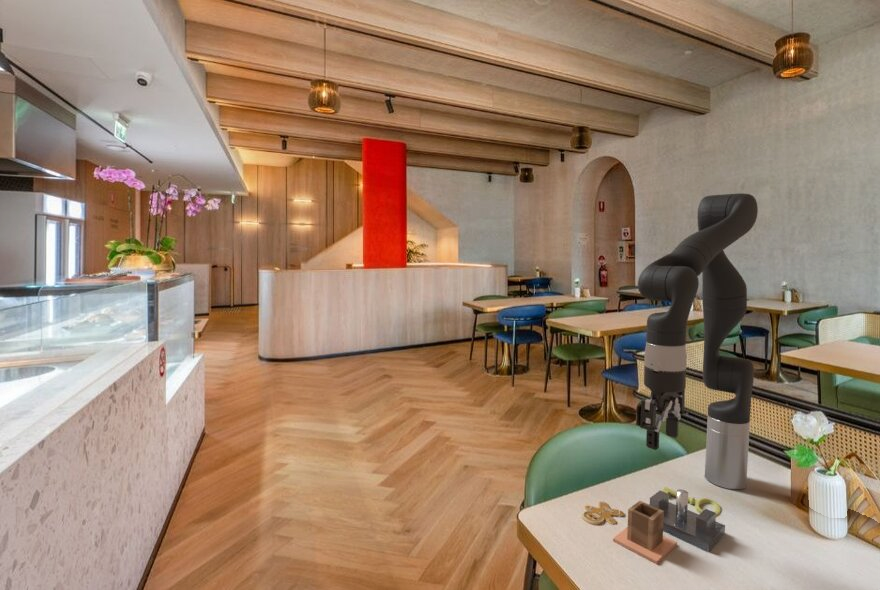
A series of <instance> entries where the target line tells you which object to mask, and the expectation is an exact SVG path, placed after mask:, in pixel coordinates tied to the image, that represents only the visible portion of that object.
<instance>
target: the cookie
mask: <svg viewBox="0 0 880 590" xmlns="http://www.w3.org/2000/svg"><path fill="white" fill-rule="evenodd" d="M597 505H598V507H595V506H591V505H585V506H584V510H585V511H584V512H582V515H581V519H582V520H583V521H584V522H585V523H588V524H590V525H593V526H602V525H603V524H605V520H606V522H607V523H608V524H610V525H612V524H613V526H615V525H614V524H616V525H617V524H618V521H617V520H616V519H615V518H614V517H618V516H620V517H619V518H622V516H624V517H625V516H626V514H625V512H624V511H623V510H620V509H615V508H614V509H613V508H611V506H610V505H609V504H608V503H607V502H605V501H598V503H597Z"/></svg>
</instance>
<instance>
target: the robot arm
mask: <svg viewBox="0 0 880 590" xmlns="http://www.w3.org/2000/svg"><path fill="white" fill-rule="evenodd" d="M758 208H759V207H758V202H757V199H756V197H754V196H753V195H752V194H749V193H739V192H738V193H730V194H729V193H727V194H726V193H725V194H712V195H706V196H704V197H703V198H702V199H701V200H700V201H699V205H698V208H697V217H696V218H697V230H698V231H696V232H694V233H692V234H690V235H689V236H687V237H685V238H683V240H682V241H680V242H679V244H678V245H677V246H676V247H675V248H674V249H673V250H672V251H671V253H668V254H666V255H664V256H662V257H660V258H658V259H657V260H654V261H653V262H651V263H650V264H648V265H647V266H646V267H645V268H644V269H643V270H642V271H641V272H640V275H639V276H638V280H637V289H638V292H639V294H640V295H641V296H642V297H643V298H645V299H646V300H649V301H656V302H657V301H658V302H668V303H669V302H671V305H670V307H669V309H668V310H666V311H663V312H662V311H661V312H654V313H652V314H649V316H648V317H647V319H646V340H645V341H646V342H645V348H644V363H643V365H644V366H643V385H644V386H645V387H646V388H647V389H649V390H650V395H649V396H650V397H649V398H645V397H643V398H642V399H641V400H640V401H641V404H640V422H639V427H640V428H641V429H644V430H646V437H645V438H646V440H645V441H646V443H645V444H646V447H647V448H649V449H651V450H655V451H656V450H658V449H660V429H661V425H662V424H663V423H664V422H665V435H666V436H668V437H671V438H674V439H676V438H678V436H679V422H680V420H681V416H684V415H685V407H686V406H685V402H686V401H685V398H686V395H685V393H686V392H685V391H686V383H687V360H688V359H687V357H688V356H687V348H686V347H687V346H686V342H687V341H686V340H687V324H688V319H689V316H690V313H691V309H692V306H693V304H694V302H695V298H696V295H697V293H698V290H699V284H700V283H699V276H700V275H701V274H702V277H701V278H702V280H701V281H702V288H701V289H702V290H701V291H702V293H701V294H702V297H701V298H702V299H701V300H702V314H703V317H702V318H703V334H704V338H703V341H704V342H703V359H702V379H703V383H704V386H705V387H706V388H707V389H710V390H713V391H719V392H724V393H731V394H733V395H735V397H733V398H731V399H727V400H721V401H713V402H711V403H709V404H708V405H707V406H708V407H707V421H706V423H707V425H706V444H705V461H704V462H705V464H704V478H705V479H706V480H707V481H708V482H710V483H711V484H713V485H716V486H718V487H720V488H724V489H729V490H742V489H745V488H746V487H747V482H748V481H747V478H748V464H749V463H748V461H749V460H748V459H749V447H750V445H749V444H750V443H749V442H750V426H751V407H752V406H751V405H752V393H753V385H754V379H755V367H754V364H753V362H752V361H751V360H750V359H746V358H741V357H734V356H727V355H726V356H725V355H720V348H721V346H722V345H723V343H724V342H725V340H726V338H727V337H728V336H729V334H730V333H731V332H732V331H733V330H734V329H735V328H736V327H737V326H738V324H740V322H741V321H742V320H743V318H744V317H745V316H746V313H747V309H748V308H747V307H748V301H747V300H748V298H747V297H748V289H747V284H746V281H745V280H744V278H743V276H742V275H741V273H740V272H739V271H738V269H737V268H736V267H735V266H734V264H733V263H732V262H731V261H730V259H729V258H728V256H727V254H726V252H725V251H724V250H725V249H727V248H728V247H730V246H731V245H732V244H733V243H735V242H736V241H737V240H739V239H741V238H742V237H743V236H744V235H746V234H747V233H749V232H750V231H751V230H752V228H753V227H754V226H755V223H756V222H757V218H758V212H759V211H758Z"/></svg>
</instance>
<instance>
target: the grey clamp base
mask: <svg viewBox="0 0 880 590" xmlns="http://www.w3.org/2000/svg"><path fill="white" fill-rule="evenodd" d="M676 492H677V497H675V499H676V501H675V503H673V502H669V501H670V494H668V493H665V492H663V490H659V491H657V492H656V493H654V494H652V496H651V497H649V505H651V506H653V507H656V508H658V509H660V510H663V511H664V520H663V533H667V534H668V533H669V534H668V535H671V536H673V537H675V538H677V539H679V540H681V541H683V542H685V543H688V544H690V545H692V546H693V547H697V548H699V549H701V550H702V551H705V552H707V553H709V552H710V551H711V550H712V549H713V548H714V547H715V546H716V544H718V543H719V541H720V540H721V539H722V538H723V537H724V536H725V533H726V524H723V523H720V522H718V521H716V519H717V516H716V513H715V511H713V510H710V509H707V508H705V509H703V512H702V513H698V512H697V513H696V512H694V511H692V510H688V507H689V506H688V505H689V502H688V497H689V492H688V491H687V490H684V489H680V488H679V489H676Z"/></svg>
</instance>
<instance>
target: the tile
mask: <svg viewBox="0 0 880 590" xmlns="http://www.w3.org/2000/svg"><path fill="white" fill-rule="evenodd" d="M627 529H628V526H626V527H625V528H624V529H623V530H622V531H620V532H619V533H618V534H616V535H615V536H613V538H612V541H613V542H614V543H616V544H617V545H619V546H622V547H624V548H625V549H627V550H629V551H631V552H633V553H635V554H636V555H639V556H641V557H642V558H645V559H646V560H648V561H650V562H651V563H653V564H655V565H657V564H658V563H660V562H661V561H662V560H663V559H664V558H665V557H666V556H667V555H668V554H669V553H670V552H671V551H673V549H674V548H675V547H676V546H677V545H678V541H676V540H674V539H672V538H669V537H667V536H665V535H663V541H662V542H661V543H660V544H659V545H658V546H657V547H656V548H655V549H654V550H653V551H649V550H648V549H646V548H644V547H642V546H640V545H638V544H636V543H634V542H632V541H630V540H628V539H627Z"/></svg>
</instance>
